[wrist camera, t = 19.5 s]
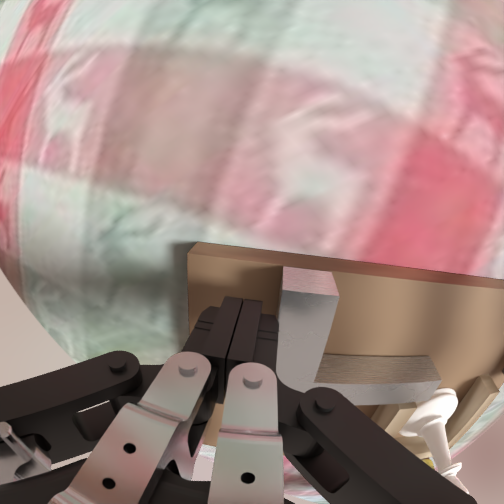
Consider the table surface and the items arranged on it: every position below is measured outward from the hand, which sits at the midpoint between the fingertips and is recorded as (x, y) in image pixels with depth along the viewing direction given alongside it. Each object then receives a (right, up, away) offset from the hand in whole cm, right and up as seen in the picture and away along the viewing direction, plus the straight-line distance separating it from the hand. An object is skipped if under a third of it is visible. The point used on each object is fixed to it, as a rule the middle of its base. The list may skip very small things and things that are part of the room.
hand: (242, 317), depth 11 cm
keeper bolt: (+6, -1, +1) cm, 6 cm away
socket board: (+9, -6, +4) cm, 11 cm away
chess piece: (+13, -8, +3) cm, 15 cm away
